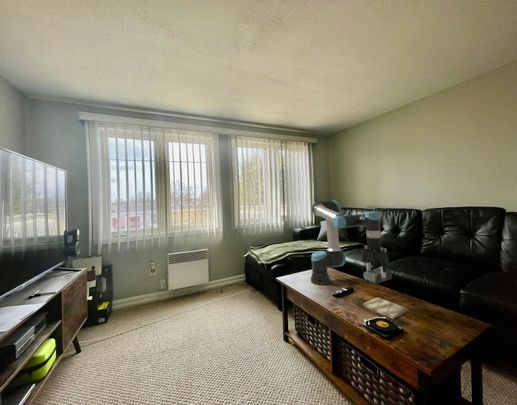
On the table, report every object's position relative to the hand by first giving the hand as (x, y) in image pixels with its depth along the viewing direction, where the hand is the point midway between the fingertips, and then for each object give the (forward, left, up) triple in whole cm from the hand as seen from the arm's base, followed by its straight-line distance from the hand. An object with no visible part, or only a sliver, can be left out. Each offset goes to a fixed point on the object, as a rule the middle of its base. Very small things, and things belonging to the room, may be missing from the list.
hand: (376, 275), depth 123 cm
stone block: (0, +1, -3) cm, 3 cm away
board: (+4, 0, -18) cm, 18 cm away
